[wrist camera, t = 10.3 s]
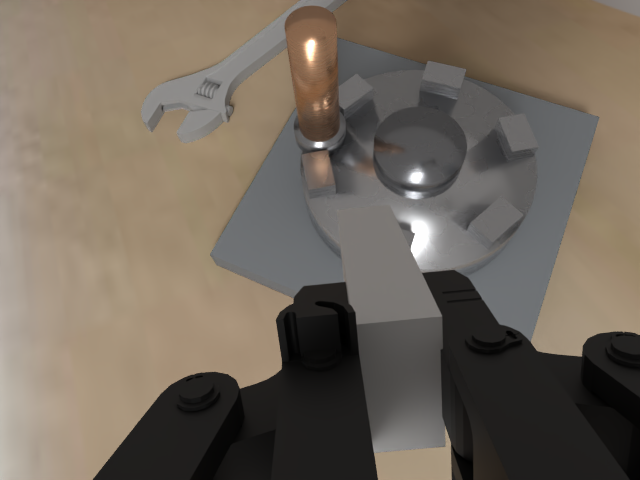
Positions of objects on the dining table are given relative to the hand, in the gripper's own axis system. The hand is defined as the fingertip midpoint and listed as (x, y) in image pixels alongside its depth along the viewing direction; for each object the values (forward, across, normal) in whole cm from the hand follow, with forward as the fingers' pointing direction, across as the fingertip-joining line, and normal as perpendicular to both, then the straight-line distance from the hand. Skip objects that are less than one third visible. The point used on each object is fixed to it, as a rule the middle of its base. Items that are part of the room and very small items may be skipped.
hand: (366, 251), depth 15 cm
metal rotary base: (+24, +5, -4) cm, 24 cm away
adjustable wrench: (+36, -5, +5) cm, 37 cm away
